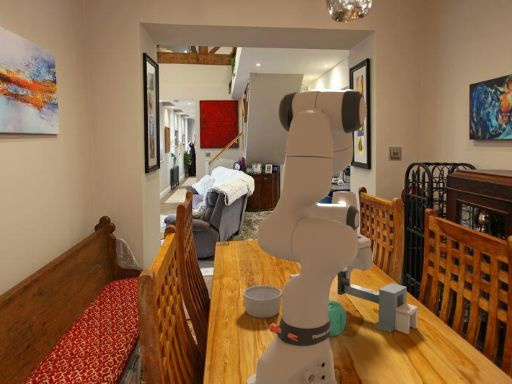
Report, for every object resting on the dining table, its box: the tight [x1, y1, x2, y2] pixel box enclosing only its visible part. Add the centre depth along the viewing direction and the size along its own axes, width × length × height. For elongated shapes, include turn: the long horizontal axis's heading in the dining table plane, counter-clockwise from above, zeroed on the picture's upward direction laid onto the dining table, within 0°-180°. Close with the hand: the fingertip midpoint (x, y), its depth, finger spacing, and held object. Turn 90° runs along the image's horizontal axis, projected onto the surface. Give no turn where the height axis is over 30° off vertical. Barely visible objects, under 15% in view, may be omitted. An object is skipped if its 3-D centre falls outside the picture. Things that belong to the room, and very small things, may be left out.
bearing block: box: [374, 282, 408, 333], centre depth 119 cm, size 12×5×12 cm, turn 131°
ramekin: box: [242, 284, 282, 319], centre depth 130 cm, size 13×13×7 cm
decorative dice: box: [328, 300, 347, 338], centre depth 115 cm, size 8×8×8 cm
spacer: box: [394, 302, 419, 335], centre depth 115 cm, size 6×4×7 cm, turn 132°
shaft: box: [337, 267, 379, 305], centre depth 125 cm, size 5×20×8 cm, turn 41°
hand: (343, 277), depth 132 cm, fingers closed on shaft, 2 cm apart
